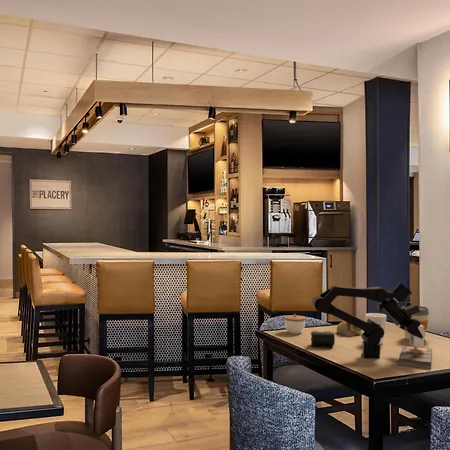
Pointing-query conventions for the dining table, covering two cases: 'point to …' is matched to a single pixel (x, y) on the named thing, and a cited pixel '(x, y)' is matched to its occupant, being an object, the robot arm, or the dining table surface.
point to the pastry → (348, 329)
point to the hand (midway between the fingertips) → (420, 336)
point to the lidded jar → (294, 323)
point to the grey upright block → (417, 339)
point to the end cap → (322, 339)
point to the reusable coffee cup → (419, 319)
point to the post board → (415, 357)
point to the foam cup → (377, 320)
